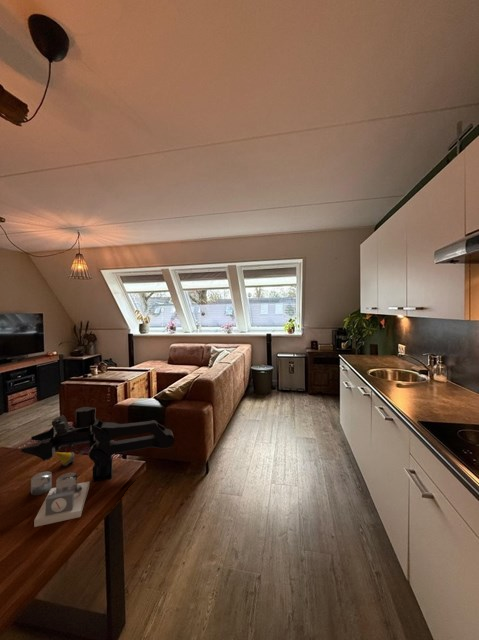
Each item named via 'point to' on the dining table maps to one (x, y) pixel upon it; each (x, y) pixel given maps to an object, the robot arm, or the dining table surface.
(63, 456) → the yellow spiral cone
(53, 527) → the dining table surface
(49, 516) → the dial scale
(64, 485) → the silver round piece
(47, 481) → the silver flared knob
